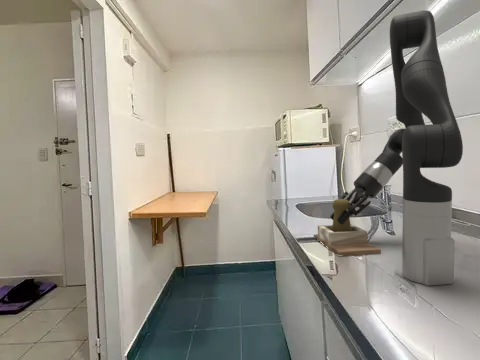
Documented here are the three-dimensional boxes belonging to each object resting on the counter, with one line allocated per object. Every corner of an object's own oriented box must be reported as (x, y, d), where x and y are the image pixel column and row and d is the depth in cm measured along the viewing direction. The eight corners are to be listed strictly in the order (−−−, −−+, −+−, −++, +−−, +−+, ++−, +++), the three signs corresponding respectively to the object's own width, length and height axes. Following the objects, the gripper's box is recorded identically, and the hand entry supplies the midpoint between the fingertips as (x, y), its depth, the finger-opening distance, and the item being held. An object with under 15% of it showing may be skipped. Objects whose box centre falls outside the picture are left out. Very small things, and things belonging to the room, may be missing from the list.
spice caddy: (381, 253, 91) (381, 236, 90) (339, 256, 89) (338, 239, 89) (348, 236, 110) (348, 222, 110) (313, 238, 109) (313, 224, 109)
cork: (354, 237, 99) (354, 200, 98) (334, 237, 99) (334, 201, 98) (348, 231, 105) (348, 197, 104) (329, 232, 105) (328, 198, 104)
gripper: (353, 170, 108) (318, 209, 108) (377, 172, 94) (336, 217, 93) (369, 185, 109) (334, 224, 109) (394, 190, 95) (354, 234, 94)
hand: (335, 220), depth 101 cm, fingers closed on cork, 4 cm apart
